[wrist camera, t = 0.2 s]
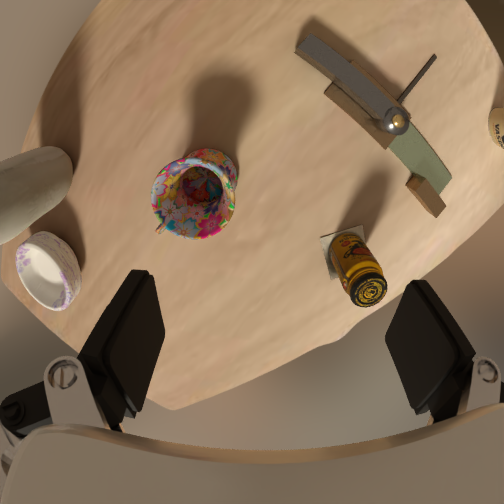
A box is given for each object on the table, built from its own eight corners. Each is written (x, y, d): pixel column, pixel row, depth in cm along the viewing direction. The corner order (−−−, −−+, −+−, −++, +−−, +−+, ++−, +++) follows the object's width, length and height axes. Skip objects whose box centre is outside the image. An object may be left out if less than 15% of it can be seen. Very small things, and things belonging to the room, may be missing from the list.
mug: (209, 131, 34) (190, 139, 25) (254, 178, 37) (253, 203, 28) (153, 188, 38) (122, 215, 29) (195, 229, 41) (178, 267, 32)
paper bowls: (33, 215, 40) (9, 233, 33) (89, 236, 42) (66, 259, 35) (39, 274, 47) (21, 295, 40) (90, 297, 49) (74, 322, 42)
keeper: (406, 118, 31) (416, 120, 29) (452, 178, 35) (462, 184, 32) (376, 154, 35) (385, 158, 32) (426, 210, 38) (436, 218, 36)
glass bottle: (49, 134, 32) (-84, 194, 8) (89, 153, 35) (-54, 233, 10) (39, 184, 37) (-72, 263, 12) (76, 205, 39) (-36, 306, 15)
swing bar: (403, 119, 31) (416, 121, 28) (388, 138, 32) (400, 141, 29) (308, 36, 26) (314, 29, 23) (291, 55, 28) (295, 49, 24)
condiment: (362, 223, 40) (392, 264, 30) (369, 266, 44) (395, 311, 34) (319, 237, 42) (338, 283, 31) (330, 279, 45) (347, 328, 35)
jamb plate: (394, 14, 23) (395, 14, 22) (446, 70, 26) (447, 70, 26) (323, 93, 31) (324, 93, 30) (384, 149, 34) (385, 149, 34)
